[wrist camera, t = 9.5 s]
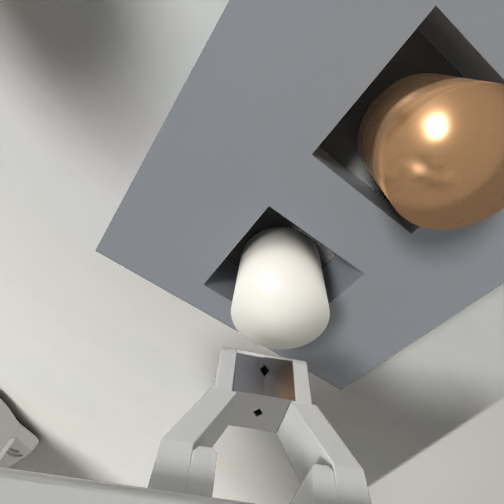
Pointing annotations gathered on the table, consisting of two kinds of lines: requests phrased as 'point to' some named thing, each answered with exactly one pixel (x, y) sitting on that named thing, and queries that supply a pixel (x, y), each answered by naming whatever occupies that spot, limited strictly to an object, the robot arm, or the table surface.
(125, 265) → the grey socket tray
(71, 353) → the table surface
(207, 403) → the robot arm
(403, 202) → the brown rounded piece
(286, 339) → the ivory key
